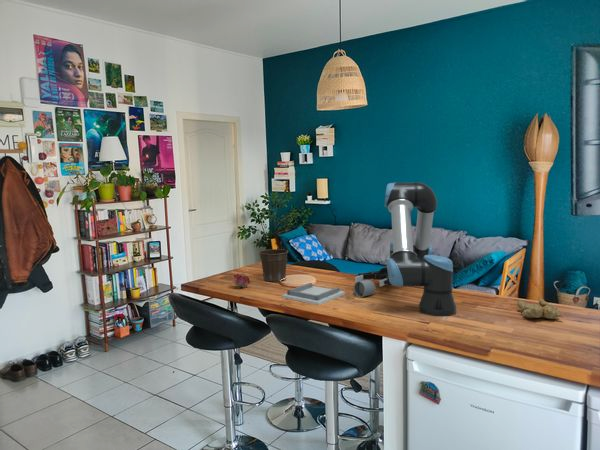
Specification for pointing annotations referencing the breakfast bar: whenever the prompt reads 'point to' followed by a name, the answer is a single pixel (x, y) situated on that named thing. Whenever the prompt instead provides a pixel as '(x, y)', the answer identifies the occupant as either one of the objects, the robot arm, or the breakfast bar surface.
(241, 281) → the flower
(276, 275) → the plant pot
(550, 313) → the ginger root
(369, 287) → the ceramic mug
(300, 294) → the tray
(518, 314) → the breakfast bar surface
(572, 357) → the breakfast bar surface
